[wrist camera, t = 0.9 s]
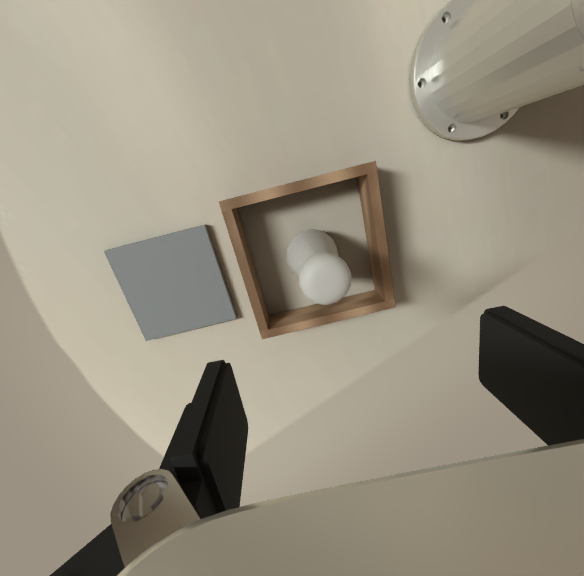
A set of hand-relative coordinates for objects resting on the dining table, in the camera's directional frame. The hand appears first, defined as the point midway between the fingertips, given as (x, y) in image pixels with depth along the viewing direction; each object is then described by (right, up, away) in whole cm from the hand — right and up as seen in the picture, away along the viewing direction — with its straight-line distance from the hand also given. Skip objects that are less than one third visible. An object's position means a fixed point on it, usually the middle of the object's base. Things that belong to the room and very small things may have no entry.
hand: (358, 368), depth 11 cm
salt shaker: (0, +8, +24) cm, 25 cm away
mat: (-17, +3, +25) cm, 30 cm away
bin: (0, +7, +24) cm, 25 cm away
